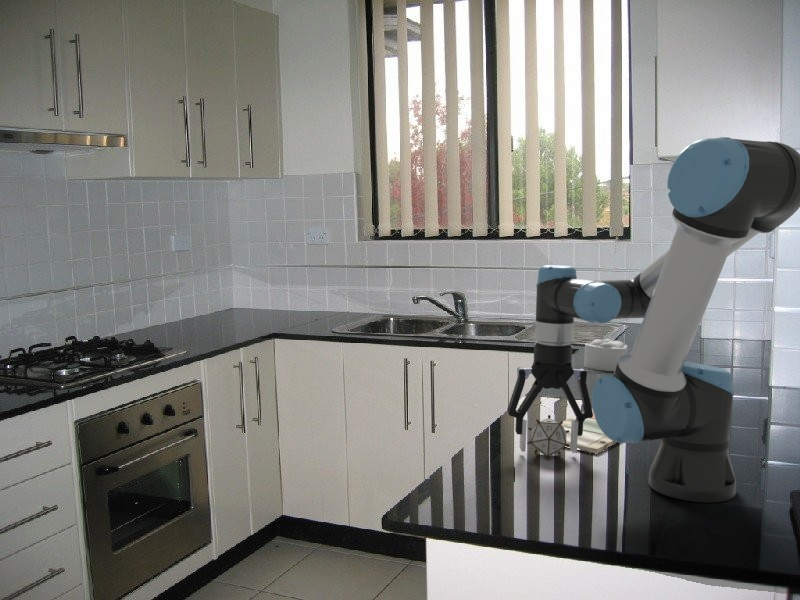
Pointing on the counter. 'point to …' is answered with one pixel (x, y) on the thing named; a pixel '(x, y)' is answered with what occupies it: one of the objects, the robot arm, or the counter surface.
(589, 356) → the lumpy-topped squat cylinder
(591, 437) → the board
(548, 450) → the game die
